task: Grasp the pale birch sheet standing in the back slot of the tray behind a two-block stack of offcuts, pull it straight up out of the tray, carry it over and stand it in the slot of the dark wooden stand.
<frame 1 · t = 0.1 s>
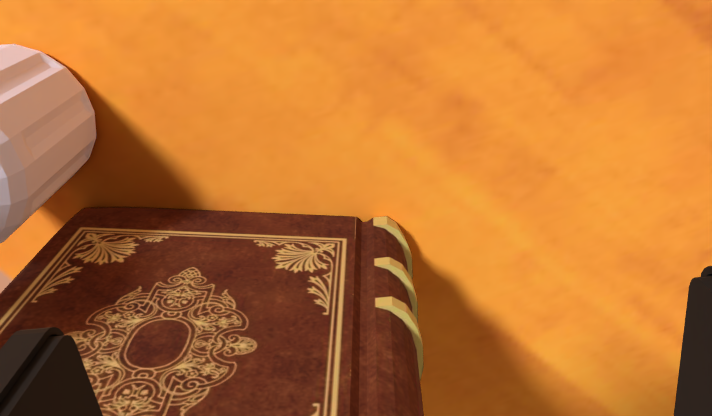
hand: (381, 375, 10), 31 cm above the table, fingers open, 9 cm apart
decorative book: (250, 258, 45), on the table
soap bottle: (28, 114, 41), on the table
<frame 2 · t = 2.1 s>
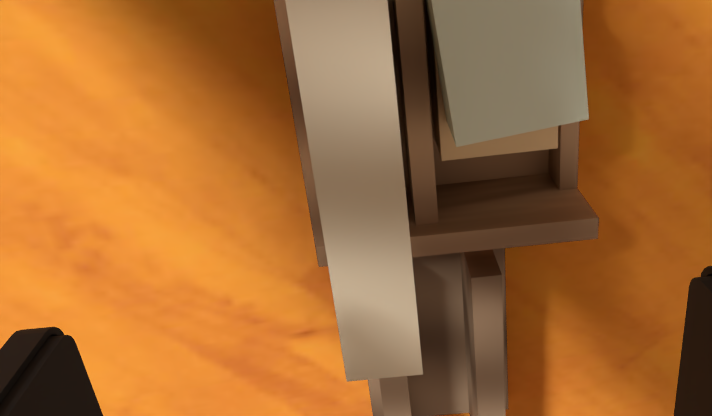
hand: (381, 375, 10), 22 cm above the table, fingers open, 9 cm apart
stand: (432, 322, 37), on the table
offcut upper: (496, 38, 26), point 4 cm above the table, touching offcut lower
offcut lower: (484, 47, 29), point 1 cm above the table, touching offcut upper, tray
tray: (430, 37, 30), on the table
birch sheet: (361, 50, 29), point 1 cm above the table, touching tray
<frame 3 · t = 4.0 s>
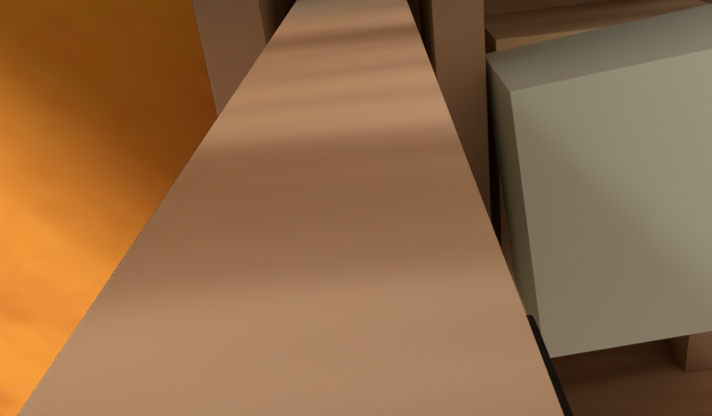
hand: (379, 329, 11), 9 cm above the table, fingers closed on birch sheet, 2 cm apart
offcut upper: (607, 157, 15), point 4 cm above the table, touching offcut lower
offcut lower: (570, 151, 18), point 1 cm above the table, touching offcut upper, tray
tray: (481, 131, 19), on the table
birch sheet: (374, 156, 18), point 1 cm above the table, touching gripper, tray
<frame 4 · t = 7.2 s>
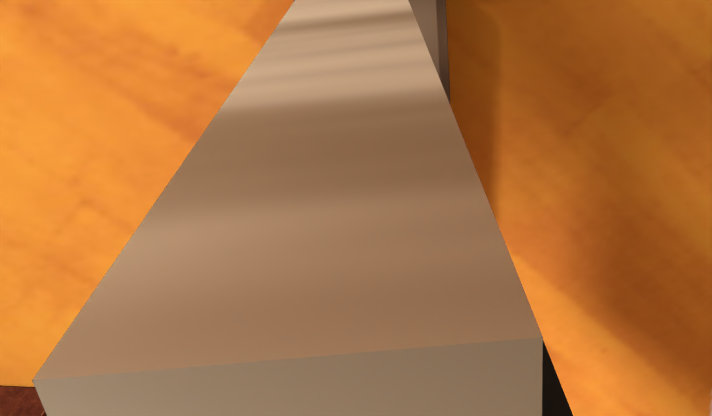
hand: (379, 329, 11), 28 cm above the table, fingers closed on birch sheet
stand: (377, 78, 37), on the table
birch sheet: (374, 144, 19), point 19 cm above the table, touching gripper
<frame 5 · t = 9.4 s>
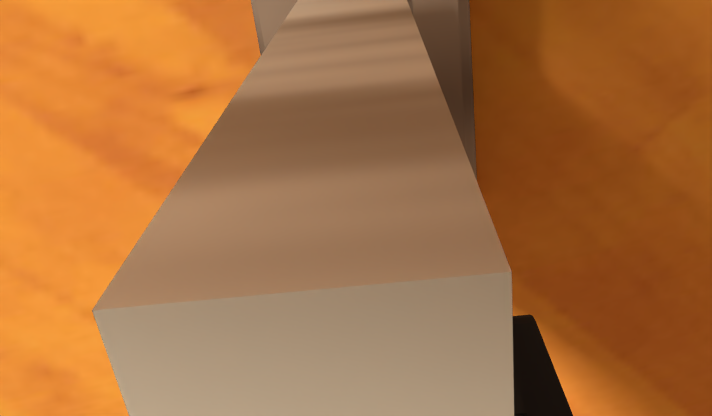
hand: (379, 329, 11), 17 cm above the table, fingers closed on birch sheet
stand: (368, 74, 26), on the table
birch sheet: (374, 139, 20), point 7 cm above the table, touching gripper
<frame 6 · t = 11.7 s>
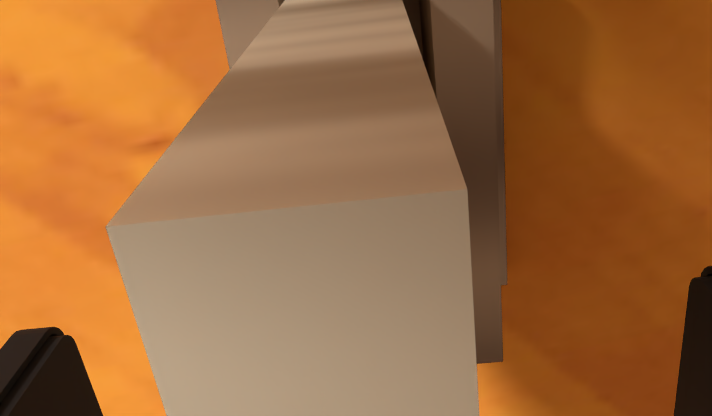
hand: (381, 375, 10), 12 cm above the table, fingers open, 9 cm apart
stand: (373, 123, 21), on the table
birch sheet: (370, 129, 20), point 1 cm above the table, touching stand
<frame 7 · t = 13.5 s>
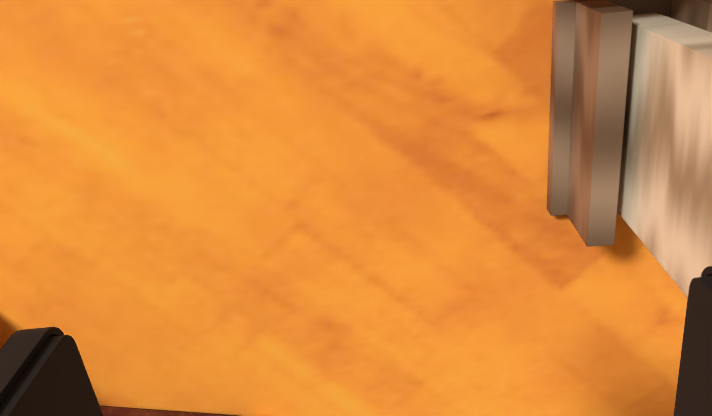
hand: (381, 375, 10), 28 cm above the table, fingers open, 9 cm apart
stand: (622, 106, 36), on the table
birch sheet: (627, 108, 35), point 1 cm above the table, touching stand
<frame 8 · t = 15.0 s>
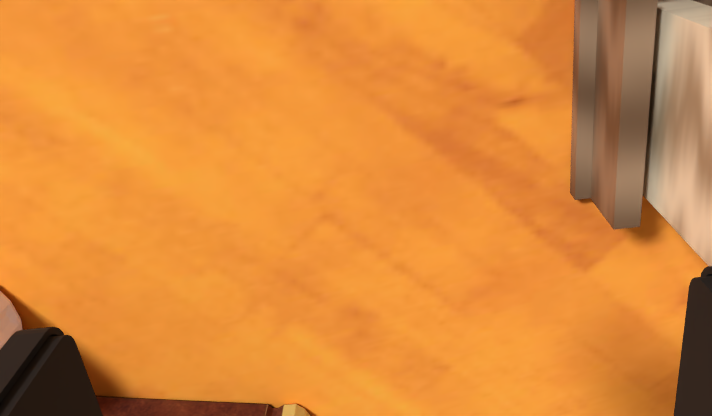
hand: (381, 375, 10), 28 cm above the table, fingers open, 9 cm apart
stand: (644, 89, 37), on the table
birch sheet: (649, 91, 36), point 1 cm above the table, touching stand
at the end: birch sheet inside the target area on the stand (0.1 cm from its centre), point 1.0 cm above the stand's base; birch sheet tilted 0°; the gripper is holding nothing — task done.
